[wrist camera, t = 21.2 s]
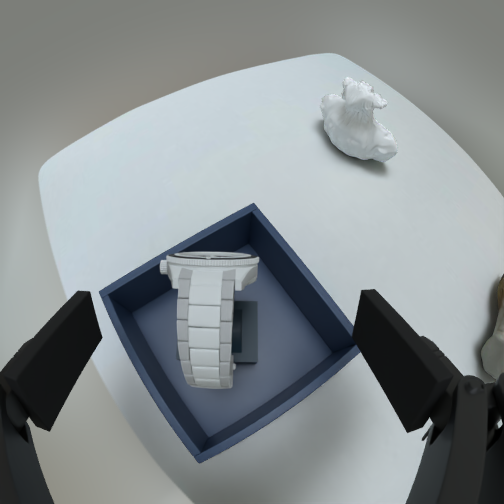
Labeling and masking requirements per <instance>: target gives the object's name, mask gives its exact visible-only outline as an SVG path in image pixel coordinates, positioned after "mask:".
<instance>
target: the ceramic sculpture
mask: <svg viewBox="0 0 504 504" xmlns="http://www.w3.org/2000/svg"><path fill="white" fill-rule="evenodd" d="M497 296H498V309H499V314H498V318H497V322H496V327H495V330H494V333H493V336H491V337H490V338H489V339H488V340H487V341H486V343H485V344H484V346H483V348H482V350H481V357H482V361H483V367H484V370H485V371H486V372H487V373H488V374H489V375H491V376H492V377H493V378H495V379H496V380H497V379H498V377H499V375H500V374H501V373H503V372H504V274H503V276H502V278H501V280H500V282H499V285H498V291H497Z"/></svg>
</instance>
